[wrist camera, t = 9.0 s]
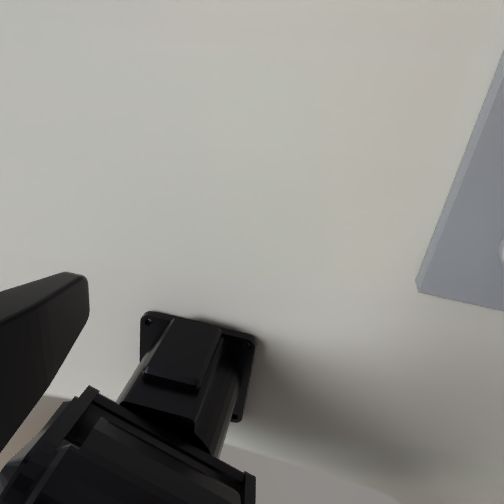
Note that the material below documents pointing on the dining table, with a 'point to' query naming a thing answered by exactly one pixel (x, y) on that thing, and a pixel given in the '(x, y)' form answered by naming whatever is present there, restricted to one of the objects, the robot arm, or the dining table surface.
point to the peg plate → (473, 217)
